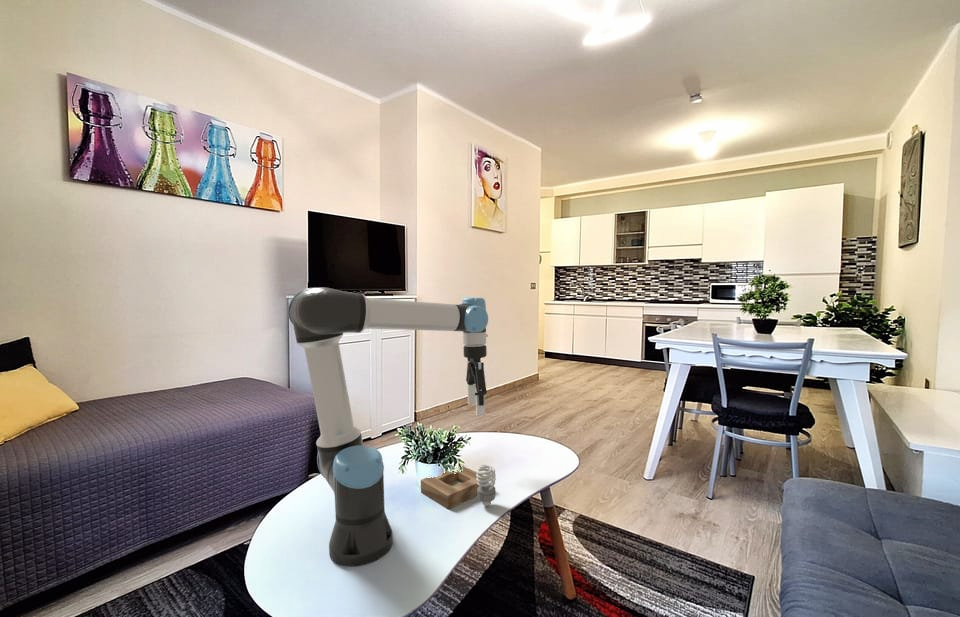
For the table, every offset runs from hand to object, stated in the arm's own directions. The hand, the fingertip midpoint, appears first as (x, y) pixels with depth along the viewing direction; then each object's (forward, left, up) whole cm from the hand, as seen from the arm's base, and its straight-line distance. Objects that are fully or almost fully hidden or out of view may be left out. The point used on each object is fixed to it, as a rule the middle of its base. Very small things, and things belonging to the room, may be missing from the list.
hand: (476, 409), depth 137 cm
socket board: (-10, -1, -24) cm, 26 cm away
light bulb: (-9, -14, -24) cm, 29 cm away
